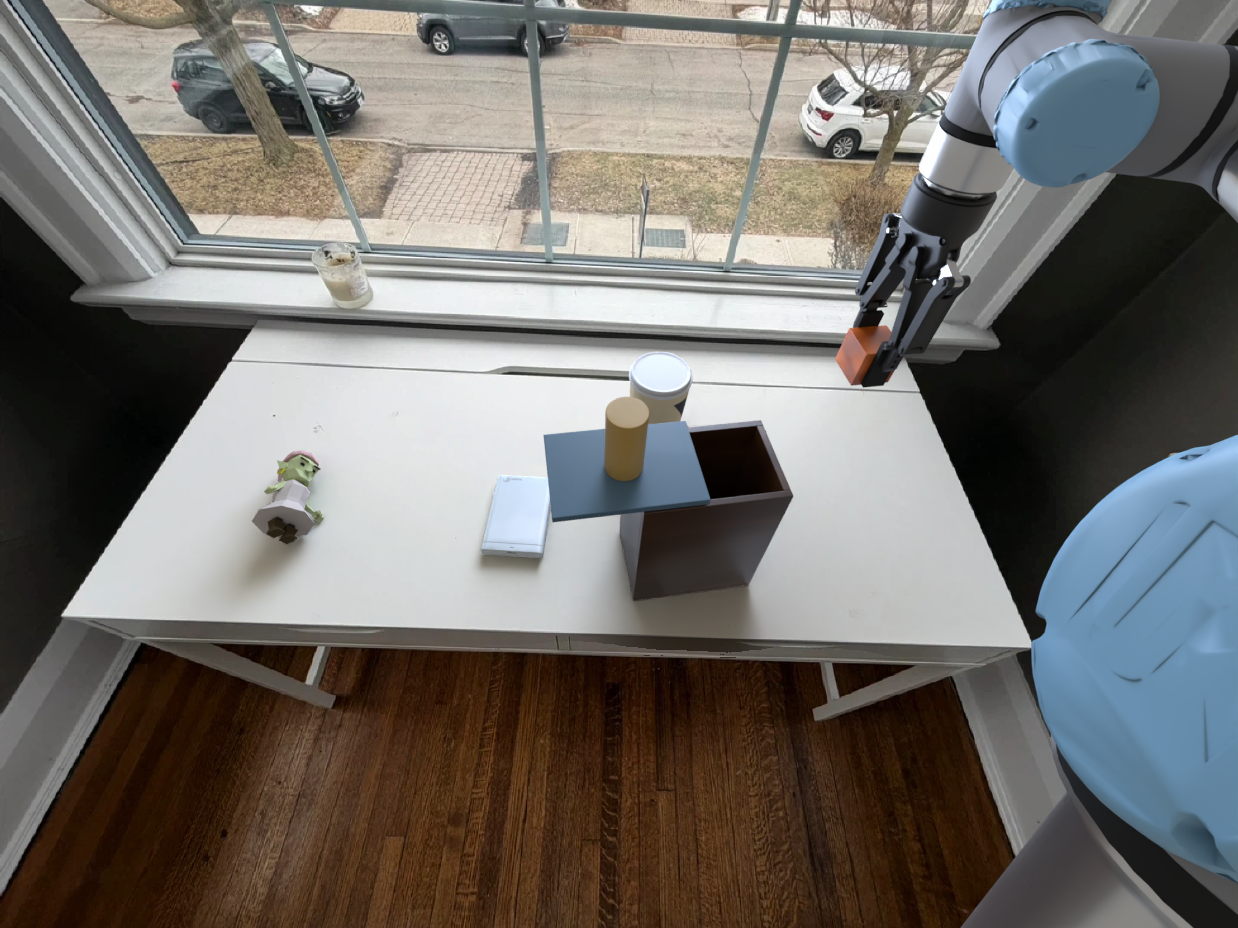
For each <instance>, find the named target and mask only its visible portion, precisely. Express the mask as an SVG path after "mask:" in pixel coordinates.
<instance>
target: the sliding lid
mask: <svg viewBox="0 0 1238 928" xmlns="http://www.w3.org/2000/svg"><path fill="white" fill-rule="evenodd" d="M604 417H605V419H604V420H605V421H604V428H597V429H588V430H579V431H577V430H576V431H567V432H558V433H556V432H555V433H547V434H546V433H545V434H543V444H544V452H545V453H544V454H545V455H544V456H545V463H546V464H545V465H546V475H547V478H548V485H549V494H550V504H551V505H550V513H551V521H552V523H560V522H568V521H569V522H570V521H576V520H577V521H578V520H585V519H594V518H602V517H603V518H604V517H611V516H621V514H629V513H637V512H646V511H654V510H663V509H671V508H680V507H688V506H697V505H705V504H709V503H710V500H711V499H710V496H709V493H708V490H707V487H706V484H705V480H704V477H703V474H702V471H701V468H700V465H699V462H698V458H697V455H696V452H695V449H694V446H693V443H692V439H691V436H690V433H689V430H688V424H687V421H686V420H681V421H679V422H669V423H659V424H648V422H649V409H648V407H647V406H646V404H645V403H644V402H642V401H641V400H639V399H637V398H634V397H630V396H621V397H620V396H619V397H616V398H613V400H611V401H610V402H609V403H608V404H607V406H606V407H605V415H604Z"/></svg>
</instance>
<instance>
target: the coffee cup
mask: <svg viewBox="0 0 1238 928" xmlns="http://www.w3.org/2000/svg"><path fill="white" fill-rule="evenodd" d="M628 379H629V397H634V398H637V399H639V400H641V401H642V402H644V403H645V404H646V406H647V407H648V409H649V422H648V424H659V423H669V422H679V421H682V417H683V413H684V411H685V406H686V403H687V399H688V395H689V392H690V388H692V387H691V386H692V384H693V372H692V369H691V367H690V365H689V364H688V363H687V361H686V360H685V359H683V358H682V357H680V356H679V355H677V354H674V353H672V352H667V351H651V352H647V353H645V354H644V353H643V354H642V355H640V356H639V357H638V358H636V359H635V360H634V361H633V363H632V364H631V366H630V367H629V370H628Z"/></svg>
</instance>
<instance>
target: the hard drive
mask: <svg viewBox="0 0 1238 928" xmlns="http://www.w3.org/2000/svg"><path fill="white" fill-rule="evenodd" d="M496 478H497V479H496V483H495V487H494V492H493V496H492V500H491V505H490V508H489V512H488V516H487V520H486V521H487V522H486V524H485V525H486V526H485V530H484V534H483V539H482V542H481V543H482V544H481V548H480V552H481V555H485V556H498V557H499V556H500V557H502V556H503V557H515V558H529V559H530V558H531V559H542V558H543V556H544V549H545V543H546V536H547V532H548V531H547V530H548V524H549V518H550V513H551V504H550V494H549V485H548V477H546V476H545V477H544V476H527V475H509V474H508V475H507V474H499V475H497V477H496Z"/></svg>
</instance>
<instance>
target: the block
mask: <svg viewBox="0 0 1238 928" xmlns="http://www.w3.org/2000/svg"><path fill="white" fill-rule="evenodd" d="M891 332H892V330H891V329H890V328H889V327H888V325H879V326H872V327H858V328H853V327H850V328H848V329H847V332H846V334H845V336H844V338H843V341H842V343H841V346H840V347H839V350H838V351H837V354H836V356H835V362H836V364H837V365H838V367H839V368H840V370H841V371H842V373H843V375H844V376H845V378H846V380H847V382H848V383H849V385H850V386H862V385H861V382H862V380H863V378H864V376H865V374H866V372H867V370H868V368H869V366H870V364H871V363H872V361H873V359H874V357H875V355H876V353H877V351H878V349H879V347H880V345H881V343H882V342H884V341H889V338H890V335H891ZM895 371H896V370H894V371H891V373H890V375H889V377H888V378H887V380H886V382H885V384H886V383H889V381H890V380H891V378H892V376H893V374H894V373H895Z"/></svg>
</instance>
